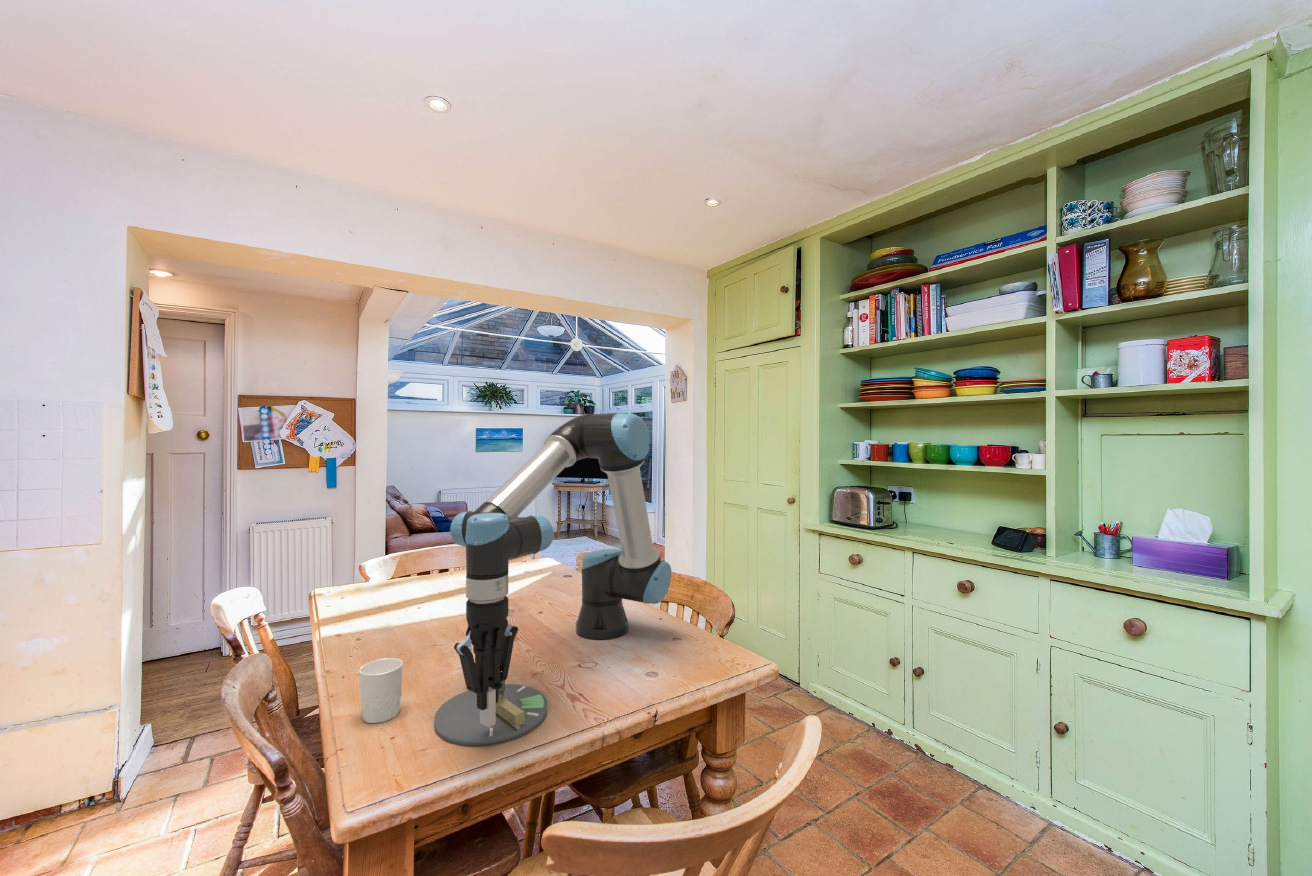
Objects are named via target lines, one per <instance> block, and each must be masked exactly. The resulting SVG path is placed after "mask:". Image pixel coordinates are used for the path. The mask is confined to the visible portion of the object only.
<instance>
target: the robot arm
mask: <svg viewBox="0 0 1312 876" xmlns="http://www.w3.org/2000/svg"><path fill="white" fill-rule="evenodd" d="M650 444H651V437H650V432H649V428H648V426H647V424H646V422H644V420H643V419H642V418H641V417H640V416H639V415H637V414H635V413H625V412H615V413H613V412H612V413H585V414H580V415H578V416H576V417H573V418H572V419H570V420H568V421H566V422H565V423H563V424H562V425H560V426H558V427H557V428H556V429H555V430H554V431H553V432H551V434H549V435H548V436H547V437H546V438H545V439H544V442H543V446H542V447H541V448H540V449H539V450H538V451H537V452H536V453H535V454H534V455H533V456H532V457H530V458H529V459H528V460H527V461H526V462H525V463H524V464H523V465H522V466H521V467H520V468H519V469H518V470H517V471H516V472H515V473H514V474H513V475H511V476H510V478H508V479H507V480H506V481H505V482H504V483H503V484H501V486H500V487H499V488H497V490H496V491H494V492H493V493H492V494H491V495H490V496H489V497H488V498H487V499H486V500H484V502H483V503H482V504H481V505H480V506H478V507H477V508H476V509H475V510H473V511H472V510H468V511H462V512H459V513H458V514H456V515H455V517H454V518H453V519H452V522H451V523H450V527H449V530H450V531H449V532H450V537H451V539H452V541H453V542H454V543H455V544H456V545H458V546H462V547H463V548H464V547H465V564H466V567H465V569H466V571H465V572H466V576H465V597H466V599H467V600H466V602H465V605H466V606H465V610H466V611H465V617H466V621H467V628H466V632H465V637H464V639H463V640H461V642H456V643H455V644H454V646H453V649H454V651H455V652H456V653H457V655H458V657H459V660H460V665H461V670H462V674H463V678H464V681H465V682H464V683H465V686H466V687H465V688H466V691H471V692H474V693H476V694H477V708H478V709H480V723H481V724H483V725H485V726H487V727H491V726H493V725H495V724H496V703H498V689H500V688H501V687H502V685H503V684H501V682H502V681H505V682H506V680H507V679H508V675H509V670H510V664H511V659H512V655H513V648H514V642H515V639H516V636H517V634H518V631H519V627H518V626H515V625H513V624H510V623H509V621H508V616H509V597H508V594H509V565H510V563H509V562H510V561H512V560H516V559H519V558H523V557H526V556H529V555H536V554H538V553H539V552H542V551H544V550H546V549H549V547H550V546H551V545H552V543H553V540H554V527H553V525H552V523H551V522H550V520H549V519H548V518H547V517H545V516H544V515H539V514H537V515H528V516H525V517H524V516H522V517H521V516H520V515H521V514H522V512H523V511H524V510H525V509H526V508H527V507H528V506H529V505H530V504H531V503H532V502H533V501H534V500H535V499H536V498H537V497H538V496H539V495H540V494H541V493H542V492H543V491H544V490H545V489H546V488H547V487H548V485H549V484H551V482H552V481H553V480H554V479H555V478H556V477H557V476H558V475H559V474H561V472H562V471H563V470H564V469H565V468H569V467H572V466H574V464H575V463H577V461H580V460H583V459H587V458H589V459H598V464H599V468H600V470H601V471H602V472H603V473H605V474H606V475H607V479H608V485H609V489H610V490H609V491H610V495H611V500H612V504H613V511H614V516H615V521H616V526H617V532H618V533H617V534H618V536H619V537H618V539H619V542H620V547H621V549H620V548H604V549H598V550H592V551H590V552H587V553H586V554H584V555H583V557H582V563H581V606H580V610H579V613H578V618H577V620H576V622H575V633H576V634H577V635H578V636H579V637H582V638H586V639H589V640H609V639H616V638H619V637H621V636H624V635H625V634H626V633H628V631H629V621H628V618H627V613H626V612H625V611H626V610H625V608H624V605H623V600H628V601H634V602H639V603H643V604H653V605H657V604H659V603H661V602H662V601H663V600H664V598H665V597H666V596H667V593H668V591H669V589H670V585H671V581H672V566H671V564H670V563H669V562H667V561H665V560H662V557H661V553H660V550H659V549H658V548H657V547H655V546H654V545H653V538H652V531H651V526H650V522H649V515H648V510H647V503H646V496H645V493H644V491H645V490H644V486H643V481H642V474H641V469H640V467H642V465H644V464H645V463H644V462H645V458H646V457H647V455H648V454H649V451H650ZM472 647H473V648H472ZM472 650H473V653H472Z"/></svg>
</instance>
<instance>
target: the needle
mask: <svg viewBox="0 0 1312 876" xmlns="http://www.w3.org/2000/svg"><path fill="white" fill-rule="evenodd" d="M501 684H503V685H502V687H501V688H500V689H498V703H496V713H497V714H498V715H499V716H501V717H502V718H503V719H505V720H506V721H508V722H509V723H510V724H512V725H513V726H514V727H517V726H519V725H521V724H524V723H525V712H524V711H523V710H521V709H520V708H518V707H517V706H515V705H514V704H513V703H511V702H510V701H508V700H507V699H505V698H504V691H505V684H506V680H505V681H502V682H501Z"/></svg>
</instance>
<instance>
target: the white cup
mask: <svg viewBox="0 0 1312 876" xmlns="http://www.w3.org/2000/svg"><path fill="white" fill-rule="evenodd" d="M358 671H359V672H358V673H359V690H360V691H359V692H360V703H361V704H360V705H361V709H362V710H361V711H362V721H364V722H365V723H367V724H380V723H384V722H388V721H390V720H392V719H394V718H395V717H397V716H398V714H399V713H400V712H401V696H402V686H403V685H402V684H403V661H402V660H401V659H399V658H395V657H394V658H392V657H391V658H390V657H387V658H386V657H385V658H380V659H375V660H372V661H369V662H367V663H365V664H363V665H362V666H361V667H359V670H358Z"/></svg>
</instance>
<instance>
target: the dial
mask: <svg viewBox="0 0 1312 876" xmlns="http://www.w3.org/2000/svg"><path fill="white" fill-rule="evenodd" d="M504 698H505V699H507V700H508V701H510V702H511V703H513V704H514V705H515V706H517V707H518V708H520V709H521V710H523V711H524V712H525V723H524V724H521V725H519V726H517V727H514V726H513V725H512V724H510V723H509V722H508V721H506V720H505V719H503V718H502V717H501V716H499V715H498V714H497V713H496V724H495V725H493V726H491V727H487V726H485V725H483V724H481V723H480V709H478V708H477V694H476V693H474V692H471V691H469V690H466V691H464V692H461V693H458V694H457V695H454V696H453V697H451V698H449V699H448V700H447V701H445V702H444V703H443V704H441V706H440V707H438V709H437V710H436V712H435V715H434V720H433V727H434V731H435V733H436V735H437V736H438V738H441V739H442V740H443V741H445V742H448V743H450V744H453V745H457V746H462V747H463V746H464V747H488V746H494V745H495V746H496V745H499V744H503V743H504V744H505V743H507V742H511V741H514V740H516V739H519V738H521V737H523V736H526V735H528V734H529V733H531V732H533V731H534V730H535V729H537V728H538V727H539V726H540V725H541V724H542V723H543V721H544V720H546V717H547V715H548V700H547V698H546V696H545V694H544V693H542V692H541V691H540V690H537V689H536V688H534V687H531V686H526V685H522V684H514V683H505V691H504Z"/></svg>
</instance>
